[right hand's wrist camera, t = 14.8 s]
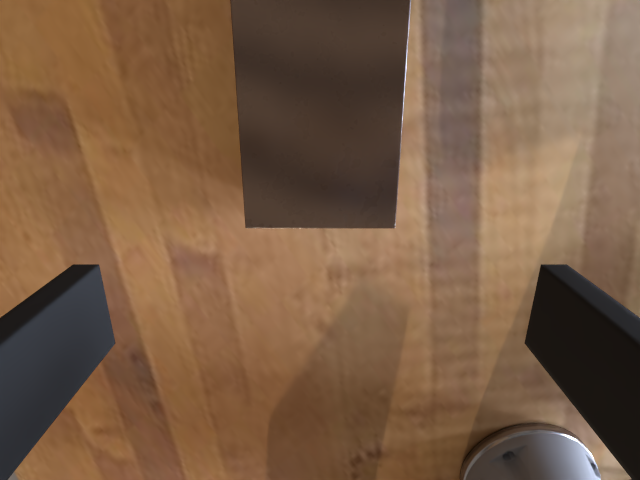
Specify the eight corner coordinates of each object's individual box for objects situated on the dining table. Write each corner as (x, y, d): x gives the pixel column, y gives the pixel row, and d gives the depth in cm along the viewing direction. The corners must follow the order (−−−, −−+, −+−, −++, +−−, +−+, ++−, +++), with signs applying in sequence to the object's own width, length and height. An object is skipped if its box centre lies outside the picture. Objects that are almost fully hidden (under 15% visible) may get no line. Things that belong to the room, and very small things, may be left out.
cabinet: (247, -79, 30) (220, -138, 22) (393, -79, 30) (420, -138, 22) (261, 197, 38) (245, 228, 29) (379, 197, 38) (395, 228, 29)
